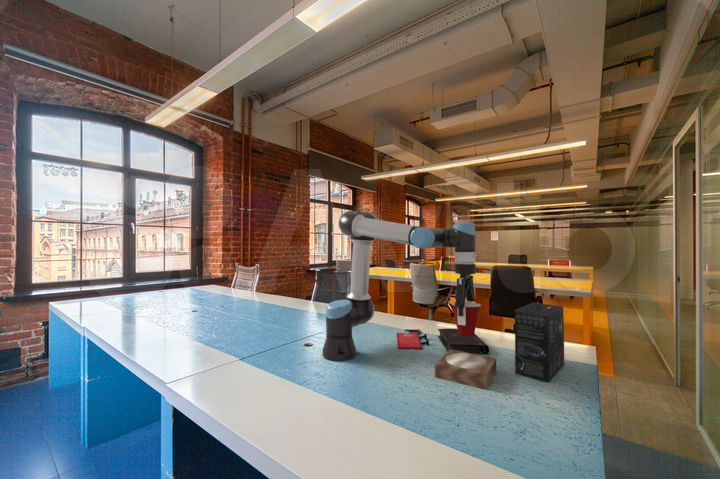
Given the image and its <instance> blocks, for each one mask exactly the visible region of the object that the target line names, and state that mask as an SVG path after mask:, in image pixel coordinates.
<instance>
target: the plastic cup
mask: <svg viewBox="0 0 720 479" xmlns="http://www.w3.org/2000/svg"><path fill="white" fill-rule="evenodd" d="M450 303H451V306H452V309H453V314H454V318H455V325H456V329H457V330H458V334H459V335H461V336H467V337H470V336H474V334H476V327H477V322H478V316H479V311H480V308H481V306H482V304H481V303H476V302H473V303H470V302H466V301H465V307H466V325H458V313H457V307H455V303H456V301H452V302H450Z"/></svg>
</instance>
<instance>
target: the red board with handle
mask: <svg viewBox="0 0 720 479" xmlns="http://www.w3.org/2000/svg"><path fill="white" fill-rule="evenodd" d="M419 334H422V332H421V329H420V328H419V329H415V328H414V329H404V332H396V339H397V349H398V350H411V349H414V350H417V351H423V345H426V346H430V340H429V339H428V337H427V333H423V334H424V335H421V336H420V335H419ZM422 339H424V340H425V341H422V342H421V340H422Z"/></svg>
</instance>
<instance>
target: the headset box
mask: <svg viewBox="0 0 720 479" xmlns="http://www.w3.org/2000/svg"><path fill="white" fill-rule="evenodd" d="M564 319H565V318H564V306H562V305H557V304H545V303H539V302H537V301H536V302H531V303H529V304H526V305H523V306H522V307H519V308H517V309H515V310H514V358H515V359H514V361H515V362H514V364H515V365H514V369H515V370H514V372H515V374H519V375H522V376H525V377H528V378H529V377H530V378H533V379H536V380H539V381H542V382H547V383H549V382H550V381H551V380H552V379H553V377H554V376H556V374H557V373H559V371H560V370H561V369H562V368H564V366H565V327H564V326H565V324H564V323H565V322H564Z"/></svg>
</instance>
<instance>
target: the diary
mask: <svg viewBox="0 0 720 479" xmlns="http://www.w3.org/2000/svg"><path fill="white" fill-rule="evenodd" d="M437 331H438V332H439V334H438V335H437V338H438V340H439V341H440V342H441V344H442V346H443V348H445V349H446V353H447V352H448V351H449V350H450V349H452V350H457V351H462V352H467V353H473V354H481V355H482V354H483V355H484V353H486V355H489V354H490V348H489V345H488V344H486V342H484V341H483V340H482V339H481V338H480V337H479V336H478V334H476V333H475V334H474V336H470V337H467V336H461V335H459V334H458V330H457V328H451V327H450V328H446V327H445V328H438V329H437Z"/></svg>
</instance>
